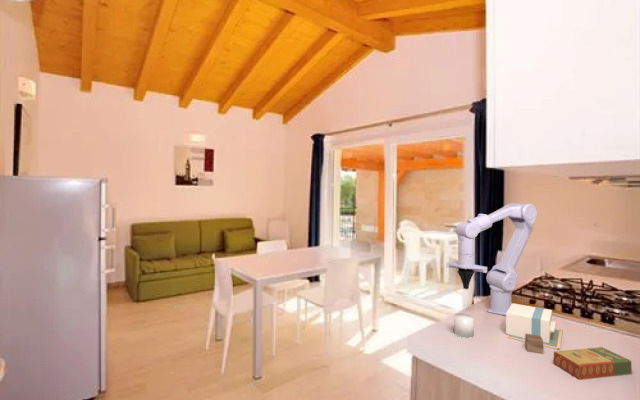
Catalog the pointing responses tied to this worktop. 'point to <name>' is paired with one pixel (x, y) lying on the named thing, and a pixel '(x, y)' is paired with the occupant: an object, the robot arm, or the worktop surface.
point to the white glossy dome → (464, 325)
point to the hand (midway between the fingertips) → (466, 288)
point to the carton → (592, 363)
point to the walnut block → (534, 343)
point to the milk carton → (529, 321)
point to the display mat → (553, 343)
